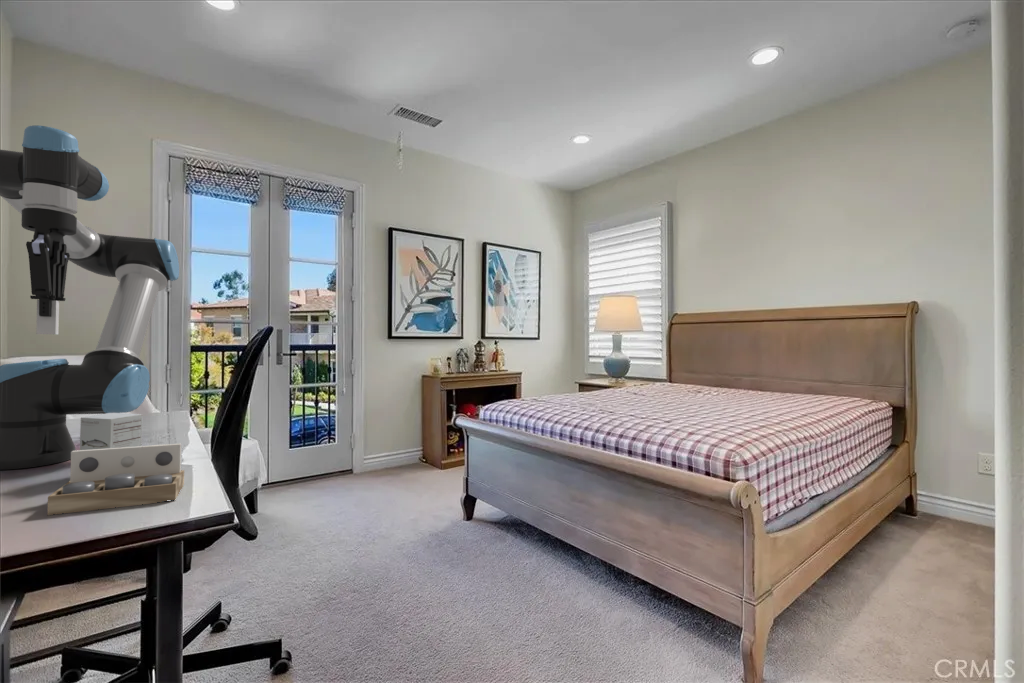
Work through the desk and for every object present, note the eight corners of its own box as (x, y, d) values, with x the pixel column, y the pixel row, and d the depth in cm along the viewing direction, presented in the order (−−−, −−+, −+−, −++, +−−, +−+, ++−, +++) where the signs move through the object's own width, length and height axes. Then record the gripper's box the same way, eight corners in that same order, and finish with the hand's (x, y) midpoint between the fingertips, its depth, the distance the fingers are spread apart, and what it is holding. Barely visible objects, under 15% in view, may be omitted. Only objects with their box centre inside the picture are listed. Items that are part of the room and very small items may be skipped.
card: (72, 481, 84) (73, 450, 84) (180, 471, 91) (181, 443, 91) (69, 483, 83) (70, 452, 83) (179, 473, 90) (180, 444, 90)
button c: (146, 489, 86) (147, 475, 86) (173, 486, 88) (173, 473, 88) (141, 495, 82) (142, 481, 82) (169, 492, 84) (169, 478, 84)
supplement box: (77, 479, 95) (78, 417, 95) (113, 469, 102) (114, 411, 102) (108, 481, 94) (110, 418, 94) (142, 471, 101) (143, 413, 101)
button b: (108, 489, 83) (108, 474, 83) (136, 486, 85) (137, 472, 85) (101, 495, 80) (101, 481, 80) (131, 492, 82) (131, 478, 82)
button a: (67, 497, 81) (67, 482, 81) (97, 494, 83) (97, 480, 83) (58, 504, 77) (58, 489, 77) (89, 501, 79) (90, 486, 79)
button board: (70, 496, 85) (70, 480, 85) (184, 485, 93) (184, 469, 93) (47, 515, 76) (47, 496, 76) (175, 500, 84) (175, 484, 84)
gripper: (38, 216, 94) (35, 333, 94) (6, 199, 82) (3, 333, 82) (87, 221, 97) (84, 334, 97) (63, 206, 86) (60, 334, 86)
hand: (47, 334), depth 90 cm, fingers closed
